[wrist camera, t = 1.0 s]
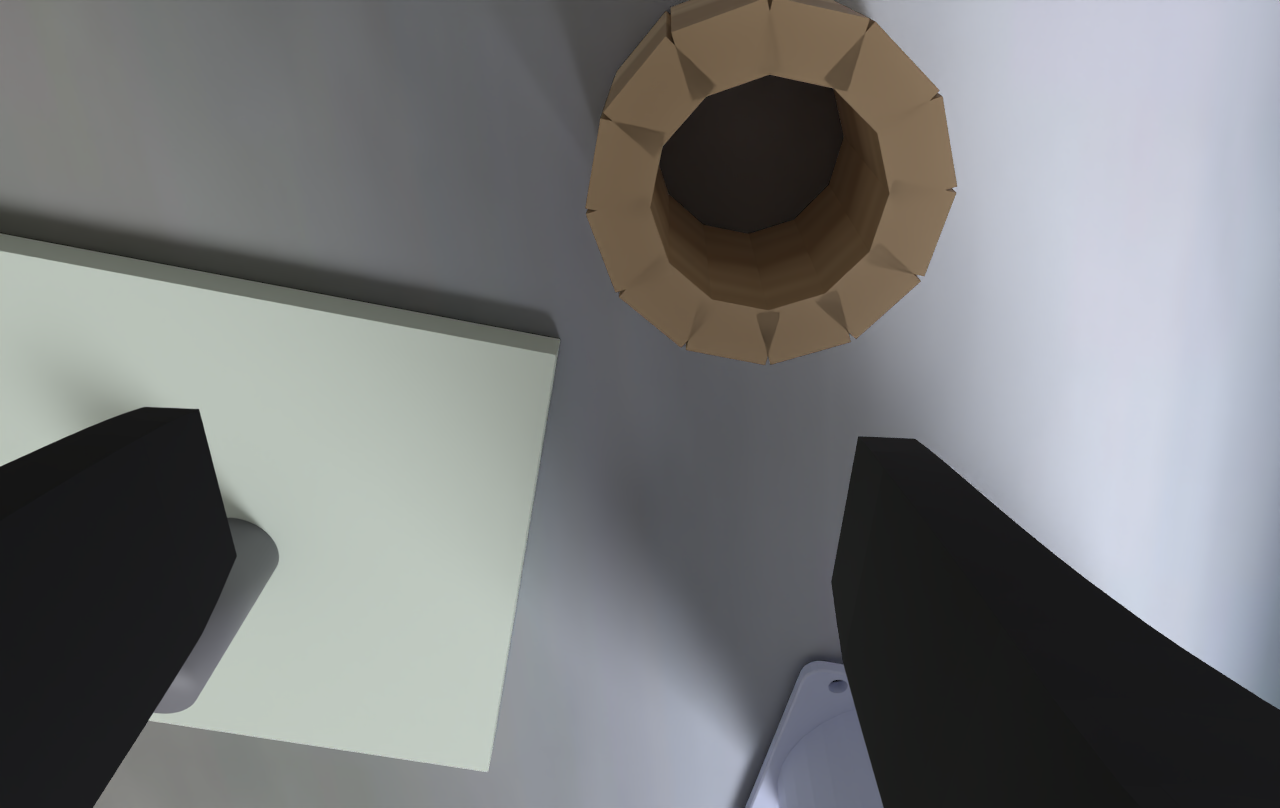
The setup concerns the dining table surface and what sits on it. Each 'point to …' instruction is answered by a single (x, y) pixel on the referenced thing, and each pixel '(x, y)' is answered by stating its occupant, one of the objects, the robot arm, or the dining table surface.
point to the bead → (822, 233)
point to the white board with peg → (310, 486)
